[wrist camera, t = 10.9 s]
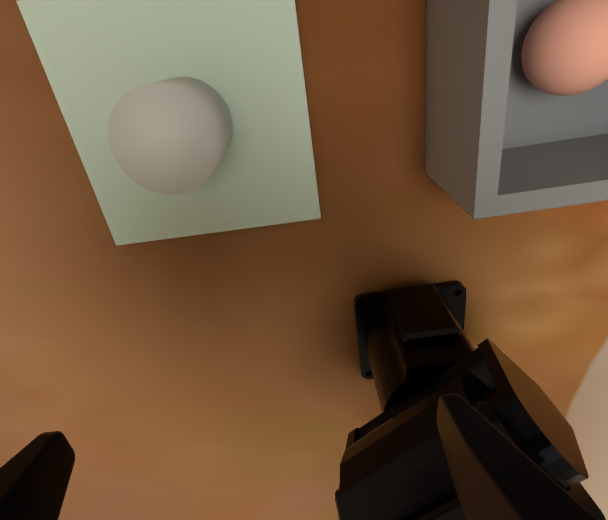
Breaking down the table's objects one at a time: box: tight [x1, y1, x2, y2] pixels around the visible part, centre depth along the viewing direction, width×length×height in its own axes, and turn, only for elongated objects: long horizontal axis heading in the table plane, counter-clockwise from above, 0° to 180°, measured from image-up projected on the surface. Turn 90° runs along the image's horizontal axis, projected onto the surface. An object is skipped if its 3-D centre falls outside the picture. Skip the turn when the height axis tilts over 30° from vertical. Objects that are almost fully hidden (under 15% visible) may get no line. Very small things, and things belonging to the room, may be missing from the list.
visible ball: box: [521, 0, 608, 96], centre depth 15 cm, size 4×4×4 cm
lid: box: [17, 0, 321, 246], centre depth 17 cm, size 11×11×5 cm
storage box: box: [425, 0, 608, 219], centre depth 15 cm, size 10×10×6 cm
